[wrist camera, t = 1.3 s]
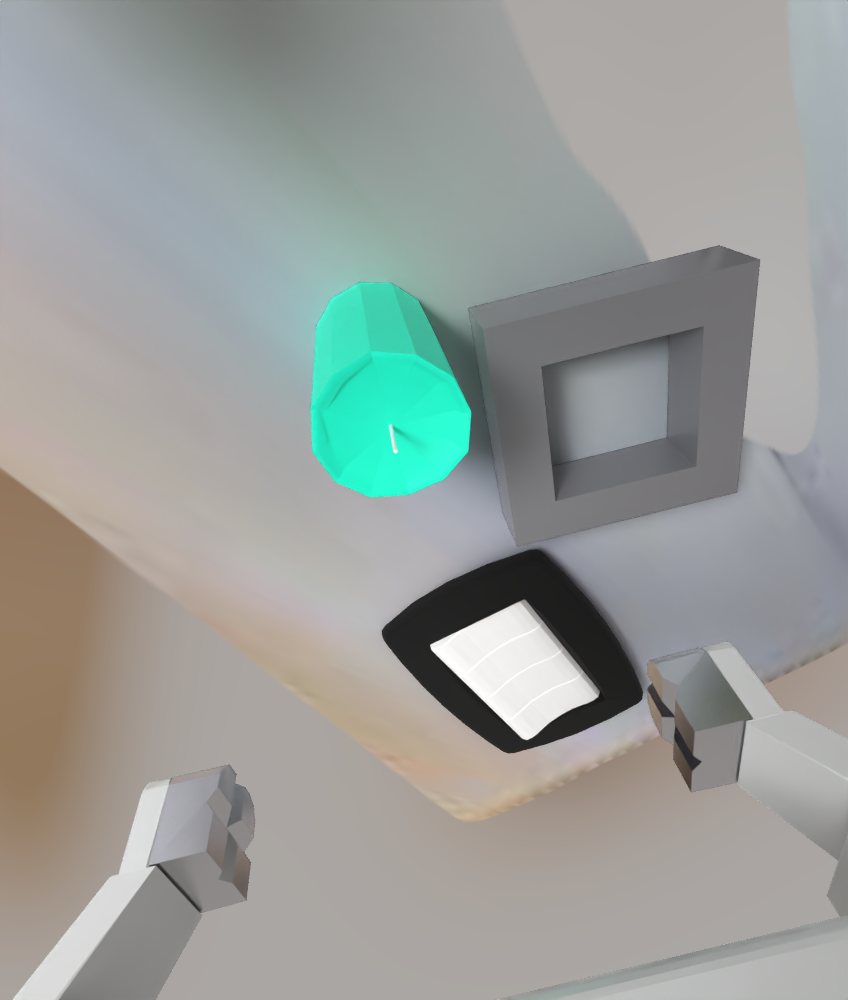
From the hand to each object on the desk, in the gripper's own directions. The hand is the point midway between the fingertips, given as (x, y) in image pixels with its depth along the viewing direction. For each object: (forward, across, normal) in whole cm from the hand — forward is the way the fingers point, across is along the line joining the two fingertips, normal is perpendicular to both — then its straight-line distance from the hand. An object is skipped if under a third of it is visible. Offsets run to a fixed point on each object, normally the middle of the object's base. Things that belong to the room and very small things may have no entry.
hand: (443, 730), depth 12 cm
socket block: (+23, -12, +6) cm, 27 cm away
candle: (+23, 0, 0) cm, 23 cm away
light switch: (+24, -4, +26) cm, 35 cm away
